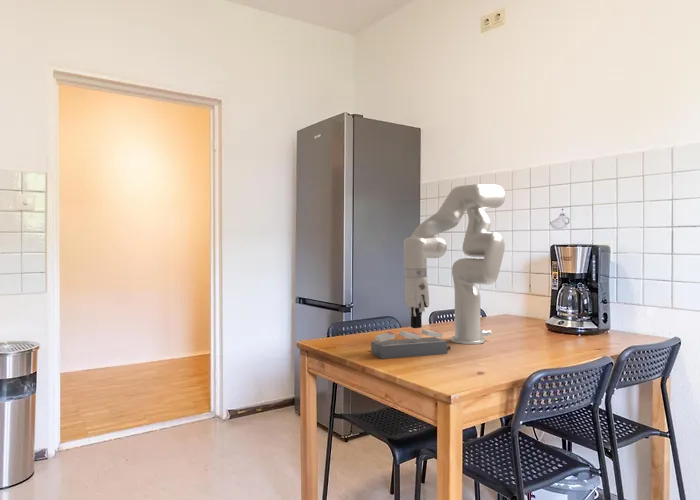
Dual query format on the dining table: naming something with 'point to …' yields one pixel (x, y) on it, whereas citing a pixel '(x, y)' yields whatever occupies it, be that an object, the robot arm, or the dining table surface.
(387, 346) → the power strip
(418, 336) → the rocker
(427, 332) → the plate
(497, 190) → the robot arm
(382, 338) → the rocker
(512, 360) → the dining table surface
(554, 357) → the dining table surface
